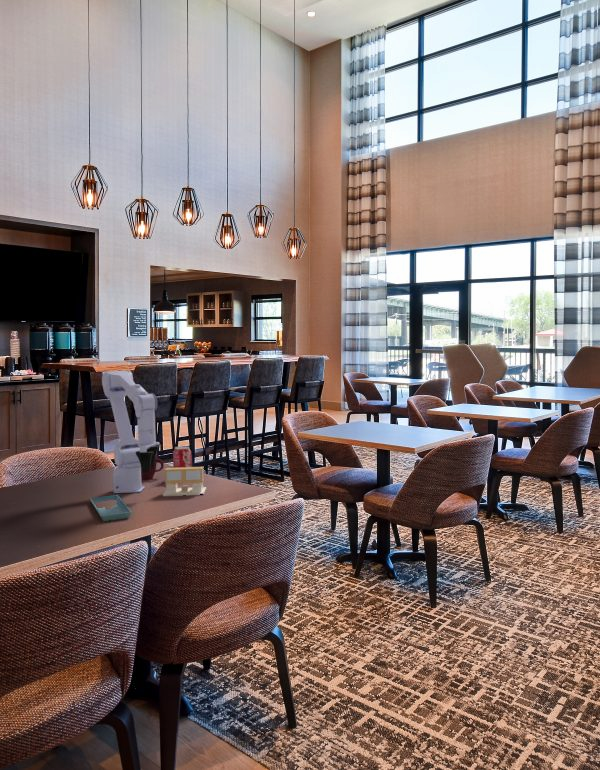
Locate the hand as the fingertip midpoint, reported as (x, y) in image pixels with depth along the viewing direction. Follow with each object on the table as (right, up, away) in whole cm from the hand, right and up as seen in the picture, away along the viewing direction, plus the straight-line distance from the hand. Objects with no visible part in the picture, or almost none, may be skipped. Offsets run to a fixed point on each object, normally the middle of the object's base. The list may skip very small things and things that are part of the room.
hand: (148, 469), depth 212 cm
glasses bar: (+11, -6, +8) cm, 14 cm away
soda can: (+6, -8, +32) cm, 33 cm away
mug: (-7, -8, +33) cm, 35 cm away
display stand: (+11, -9, +8) cm, 16 cm away
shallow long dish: (-9, -12, -13) cm, 20 cm away
